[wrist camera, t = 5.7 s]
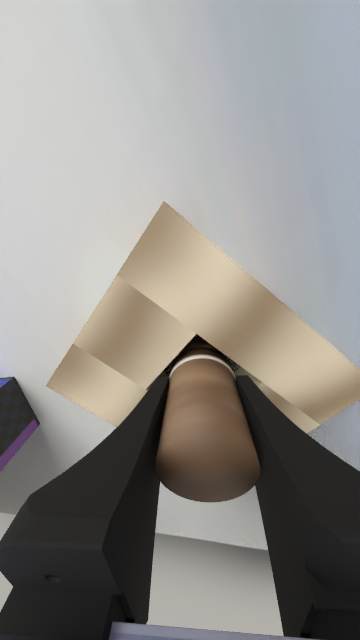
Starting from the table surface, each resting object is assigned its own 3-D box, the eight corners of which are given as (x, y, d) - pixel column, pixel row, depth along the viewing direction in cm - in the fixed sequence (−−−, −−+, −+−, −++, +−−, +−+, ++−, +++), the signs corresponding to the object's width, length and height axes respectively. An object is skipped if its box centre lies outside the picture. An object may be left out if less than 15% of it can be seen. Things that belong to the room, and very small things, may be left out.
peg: (240, 353, 13) (285, 465, 7) (207, 390, 14) (218, 514, 8) (193, 324, 13) (192, 414, 6) (162, 365, 14) (135, 476, 7)
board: (346, 359, 13) (379, 386, 11) (219, 454, 17) (223, 488, 15) (170, 208, 10) (164, 200, 8) (69, 362, 14) (45, 386, 12)
